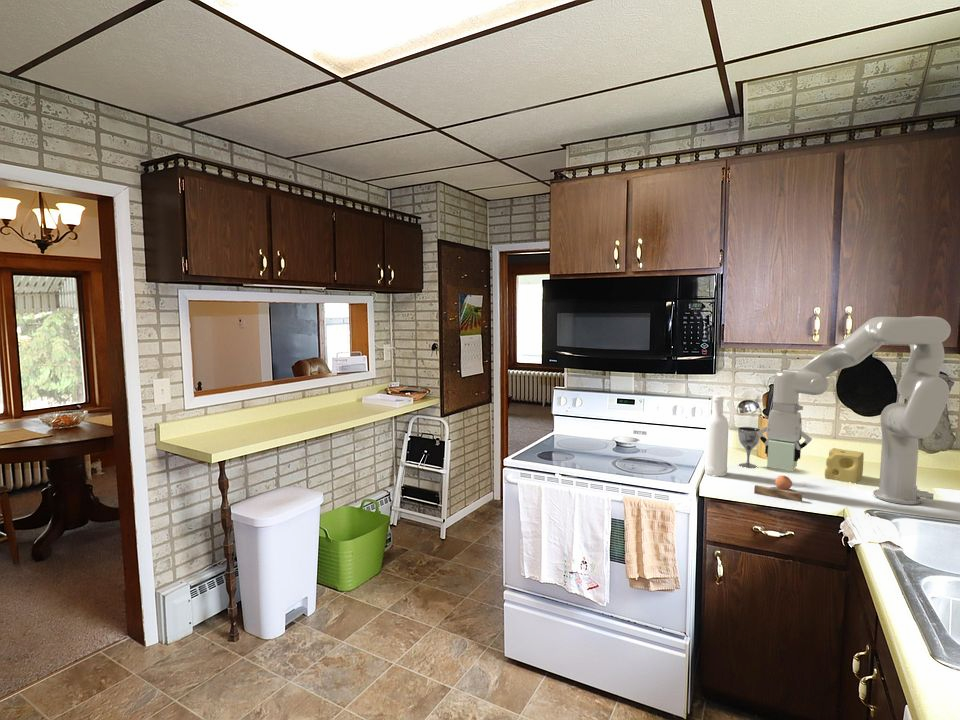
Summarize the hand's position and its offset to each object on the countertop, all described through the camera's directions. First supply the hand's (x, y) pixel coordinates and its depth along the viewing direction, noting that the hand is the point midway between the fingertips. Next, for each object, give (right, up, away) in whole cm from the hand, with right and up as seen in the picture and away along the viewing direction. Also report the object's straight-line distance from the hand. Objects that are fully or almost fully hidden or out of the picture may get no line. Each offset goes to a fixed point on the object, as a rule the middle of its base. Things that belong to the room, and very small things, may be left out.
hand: (782, 458), depth 188 cm
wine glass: (+4, -9, +33) cm, 34 cm away
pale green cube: (0, -3, 0) cm, 3 cm away
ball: (+2, -9, +2) cm, 9 cm away
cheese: (+32, -10, +16) cm, 37 cm away
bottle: (-13, -10, +22) cm, 28 cm away
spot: (0, -12, +1) cm, 12 cm away
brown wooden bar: (-4, -12, -4) cm, 14 cm away
